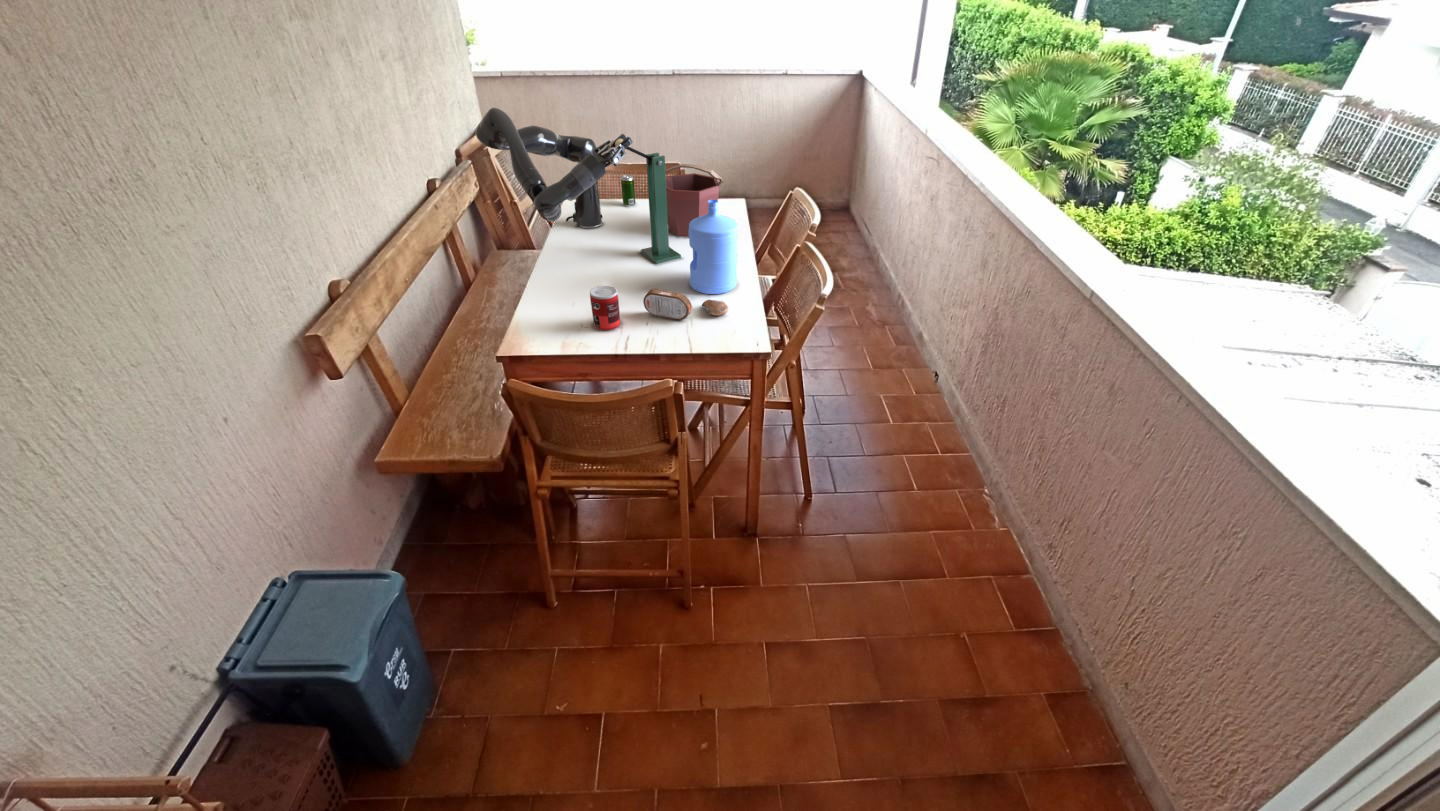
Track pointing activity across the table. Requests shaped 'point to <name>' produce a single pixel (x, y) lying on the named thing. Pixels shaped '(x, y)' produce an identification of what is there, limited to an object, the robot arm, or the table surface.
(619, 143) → the lever
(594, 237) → the table surface
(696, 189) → the bucket
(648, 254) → the green upright stand
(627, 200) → the beer can
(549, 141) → the robot arm
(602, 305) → the canned food
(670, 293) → the tin
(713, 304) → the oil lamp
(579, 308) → the table surface
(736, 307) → the table surface
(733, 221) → the water jug
